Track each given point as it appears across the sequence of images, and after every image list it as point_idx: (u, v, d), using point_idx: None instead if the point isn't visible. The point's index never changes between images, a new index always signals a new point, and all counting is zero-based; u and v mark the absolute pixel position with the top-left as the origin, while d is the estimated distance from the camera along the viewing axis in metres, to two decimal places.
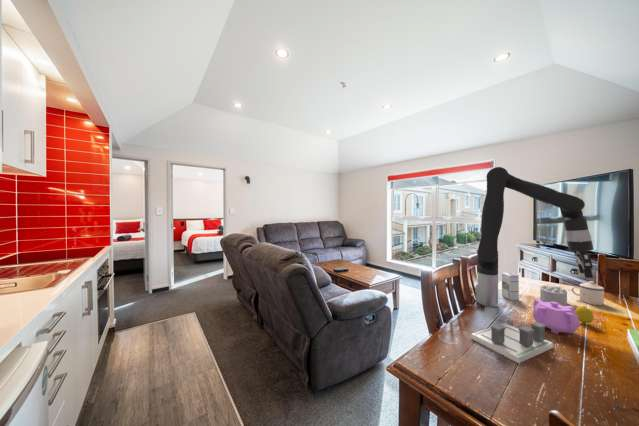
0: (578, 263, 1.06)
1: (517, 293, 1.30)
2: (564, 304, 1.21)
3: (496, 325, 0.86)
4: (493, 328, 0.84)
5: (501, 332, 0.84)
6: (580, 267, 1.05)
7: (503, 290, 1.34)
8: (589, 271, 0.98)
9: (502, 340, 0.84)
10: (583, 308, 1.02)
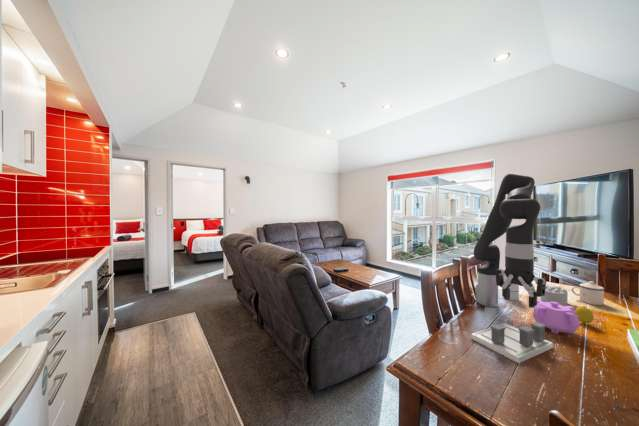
0: None
1: (517, 293, 1.30)
2: (565, 304, 1.21)
3: (496, 325, 0.86)
4: (493, 328, 0.84)
5: (501, 332, 0.84)
6: None
7: None
8: None
9: (502, 340, 0.84)
10: (583, 308, 1.02)
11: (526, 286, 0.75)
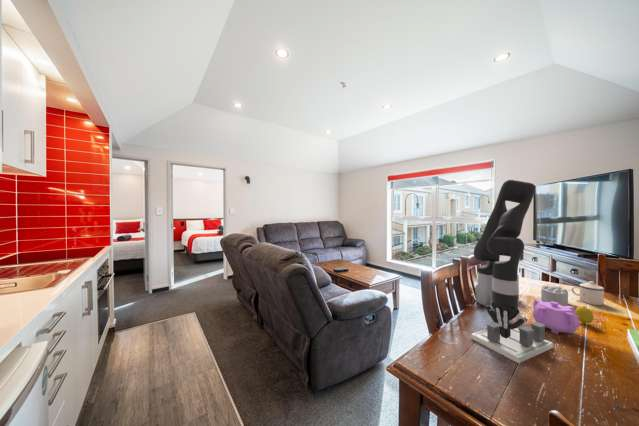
0: None
1: None
2: (565, 304, 1.21)
3: (492, 323, 0.87)
4: (489, 326, 0.86)
5: (497, 330, 0.85)
6: None
7: None
8: None
9: (498, 338, 0.85)
10: (583, 308, 1.02)
11: (506, 320, 0.81)
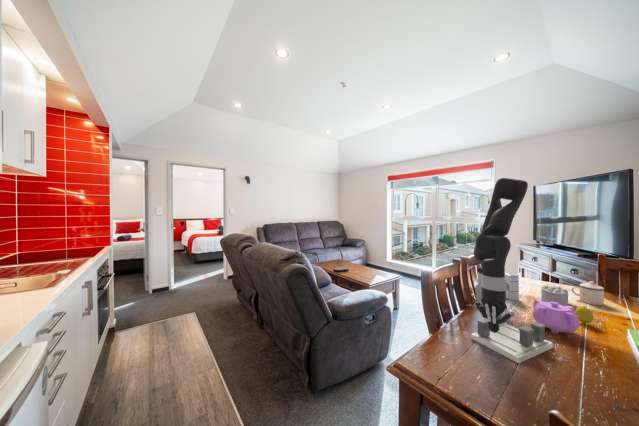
0: None
1: (517, 293, 1.30)
2: (565, 304, 1.21)
3: (482, 319, 0.90)
4: (479, 322, 0.89)
5: (486, 326, 0.88)
6: None
7: None
8: None
9: (487, 333, 0.89)
10: (583, 308, 1.02)
11: (494, 315, 0.84)
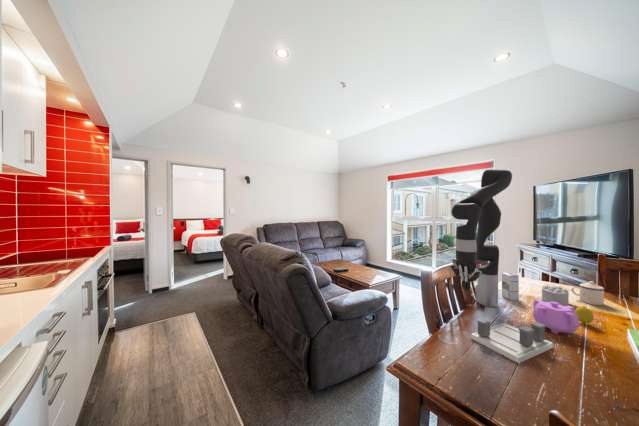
0: None
1: (517, 293, 1.30)
2: (566, 304, 1.21)
3: (482, 319, 0.90)
4: (479, 322, 0.89)
5: (486, 326, 0.88)
6: None
7: (503, 290, 1.34)
8: None
9: (487, 333, 0.89)
10: (583, 308, 1.02)
11: (466, 274, 0.94)
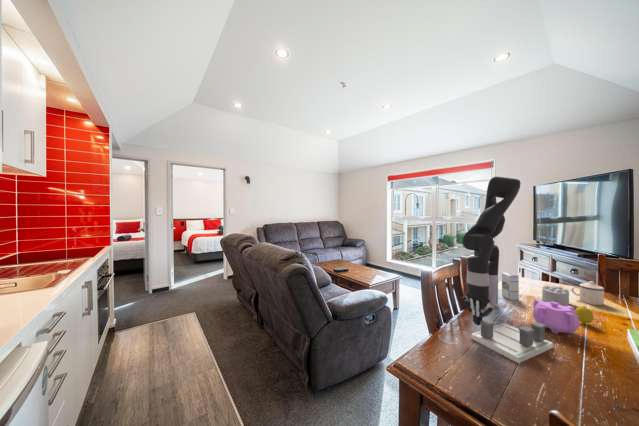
0: None
1: (517, 293, 1.30)
2: (567, 304, 1.21)
3: (485, 320, 0.89)
4: (482, 323, 0.88)
5: (490, 327, 0.87)
6: None
7: (503, 290, 1.34)
8: None
9: (491, 335, 0.88)
10: (583, 308, 1.02)
11: (478, 309, 0.90)
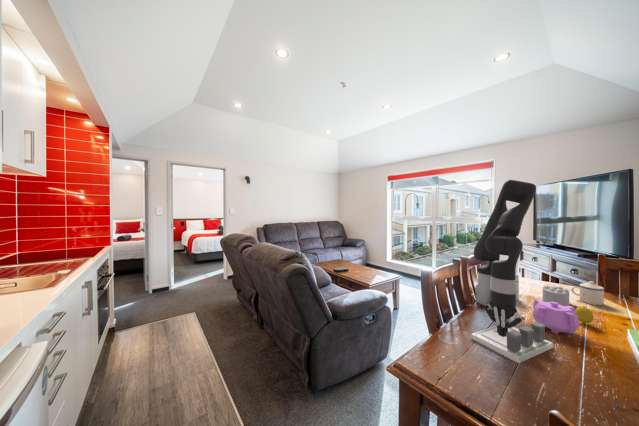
0: None
1: (517, 293, 1.30)
2: (567, 304, 1.21)
3: (512, 332, 0.81)
4: (509, 335, 0.80)
5: (517, 339, 0.79)
6: None
7: None
8: None
9: (518, 348, 0.79)
10: (583, 308, 1.02)
11: (503, 319, 0.81)
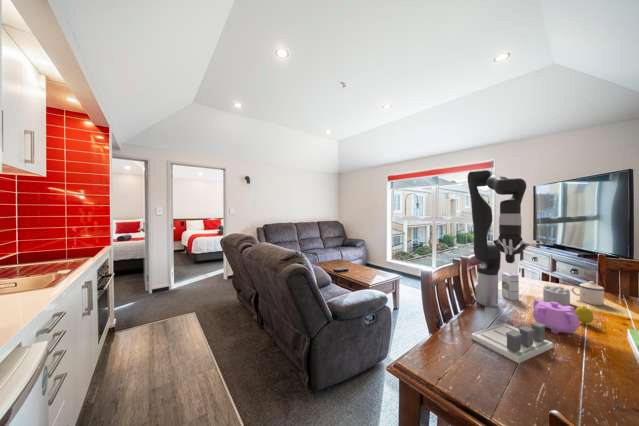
0: None
1: (517, 293, 1.30)
2: (568, 304, 1.21)
3: (512, 332, 0.81)
4: (509, 335, 0.80)
5: (517, 339, 0.79)
6: None
7: (503, 290, 1.34)
8: None
9: (518, 348, 0.79)
10: (583, 308, 1.02)
11: (511, 247, 0.97)
